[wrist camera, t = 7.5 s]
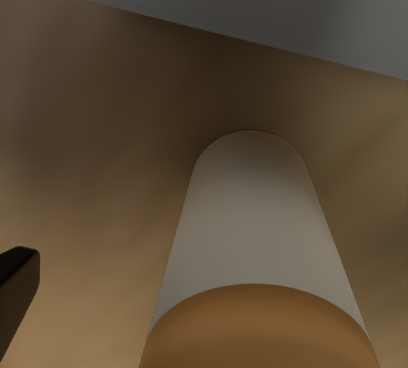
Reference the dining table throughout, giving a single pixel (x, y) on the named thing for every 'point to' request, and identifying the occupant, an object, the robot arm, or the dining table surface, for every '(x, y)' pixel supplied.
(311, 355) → the plug
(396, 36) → the header
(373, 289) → the dining table surface
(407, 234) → the dining table surface
